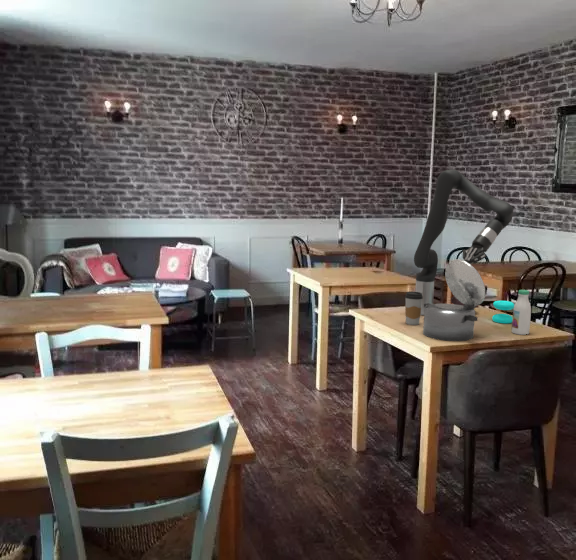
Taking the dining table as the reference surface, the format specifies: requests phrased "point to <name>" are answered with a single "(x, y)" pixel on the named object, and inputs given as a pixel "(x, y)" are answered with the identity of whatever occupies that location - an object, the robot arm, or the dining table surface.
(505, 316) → the donuts
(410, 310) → the coffee cup
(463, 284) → the lid
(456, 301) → the pine cone
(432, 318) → the cooking pot
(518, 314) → the milk bottle
